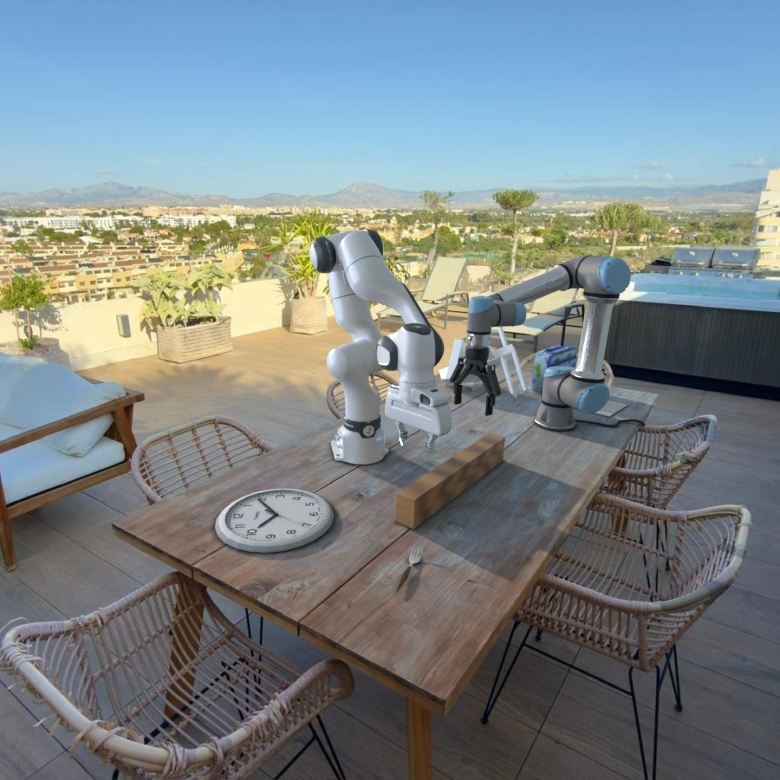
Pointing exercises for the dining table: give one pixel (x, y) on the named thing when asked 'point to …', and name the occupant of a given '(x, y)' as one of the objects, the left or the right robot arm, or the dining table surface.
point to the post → (448, 481)
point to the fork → (413, 560)
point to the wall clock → (274, 520)
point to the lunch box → (551, 363)
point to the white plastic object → (494, 358)
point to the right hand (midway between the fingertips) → (472, 409)
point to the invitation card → (611, 408)
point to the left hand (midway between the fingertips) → (416, 442)
